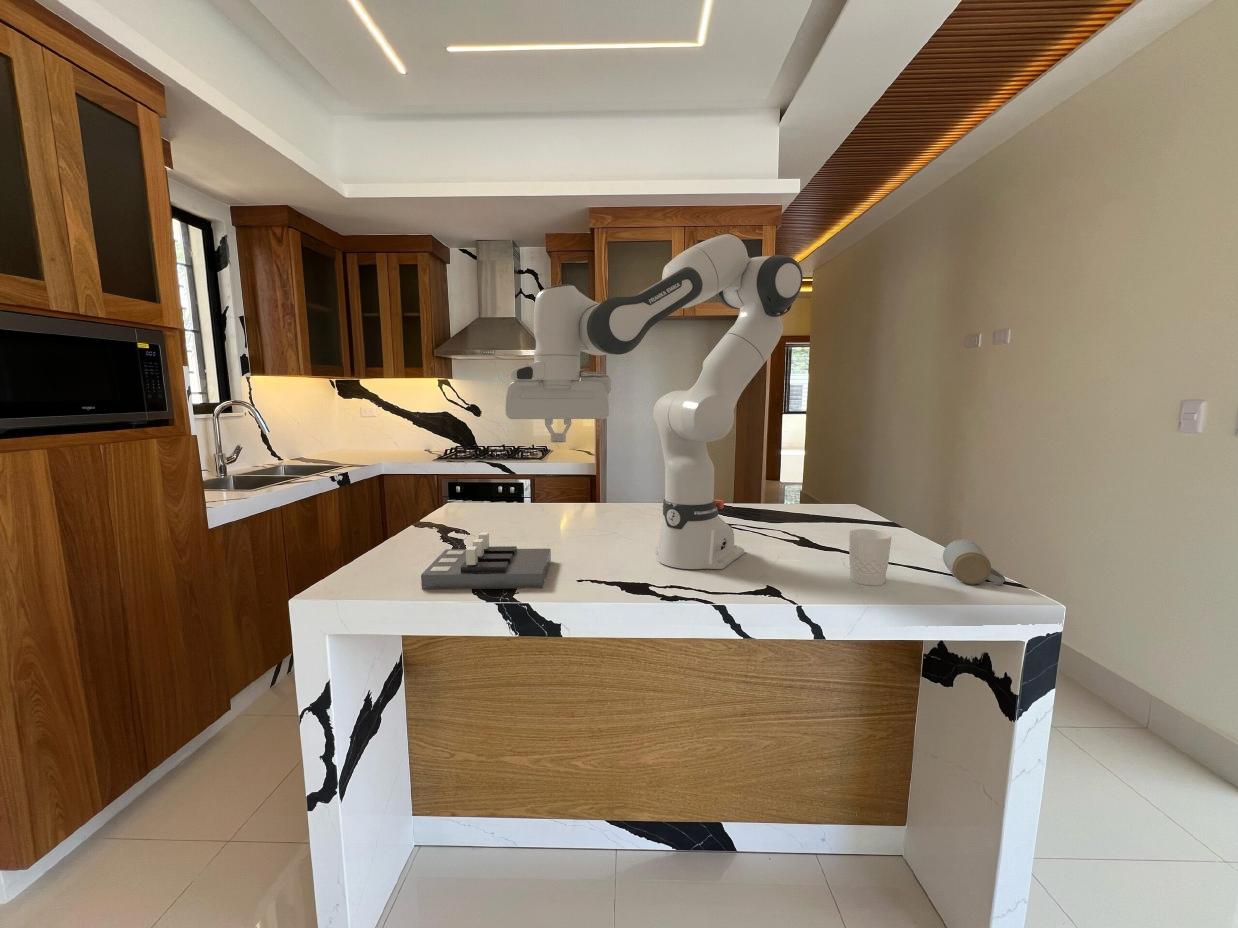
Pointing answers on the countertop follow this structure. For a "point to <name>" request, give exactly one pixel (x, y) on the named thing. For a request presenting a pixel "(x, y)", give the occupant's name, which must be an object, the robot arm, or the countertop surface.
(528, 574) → the breaker panel
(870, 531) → the white cup
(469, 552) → the block
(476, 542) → the block
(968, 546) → the ceramic mug
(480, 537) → the white short rectangular block
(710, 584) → the countertop surface
